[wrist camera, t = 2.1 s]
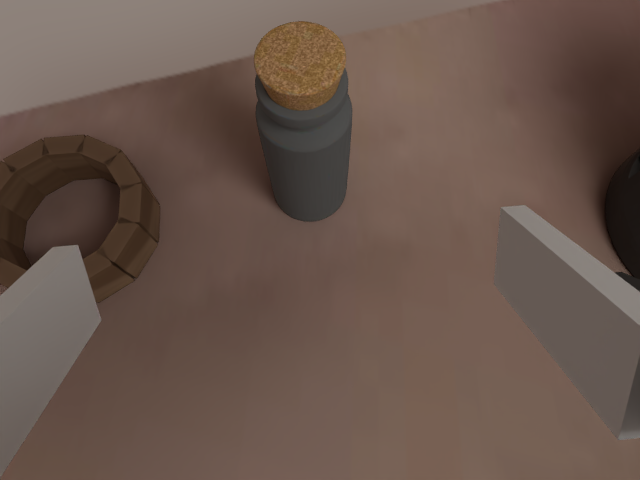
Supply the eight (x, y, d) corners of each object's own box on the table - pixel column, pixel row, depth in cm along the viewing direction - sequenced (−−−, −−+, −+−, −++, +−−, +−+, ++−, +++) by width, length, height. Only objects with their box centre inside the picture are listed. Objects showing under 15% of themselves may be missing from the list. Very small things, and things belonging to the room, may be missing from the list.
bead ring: (162, 157, 39) (144, 129, 36) (156, 298, 35) (136, 284, 31) (16, 168, 39) (-17, 142, 35) (-7, 312, 35) (-47, 299, 31)
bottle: (360, 183, 38) (380, 47, 24) (315, 236, 37) (308, 124, 23) (304, 144, 40) (291, -6, 26) (258, 194, 38) (218, 64, 24)
